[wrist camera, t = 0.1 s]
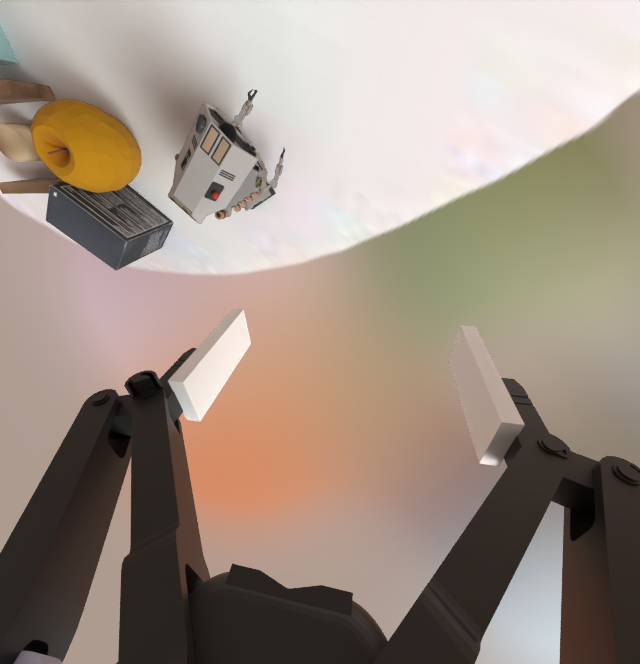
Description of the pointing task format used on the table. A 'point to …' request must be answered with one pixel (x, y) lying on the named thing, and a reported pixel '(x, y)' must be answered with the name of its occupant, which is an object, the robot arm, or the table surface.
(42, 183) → the divider rack
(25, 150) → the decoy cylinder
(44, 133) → the apple
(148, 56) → the table surface
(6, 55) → the letter cube
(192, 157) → the figurine
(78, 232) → the small box
